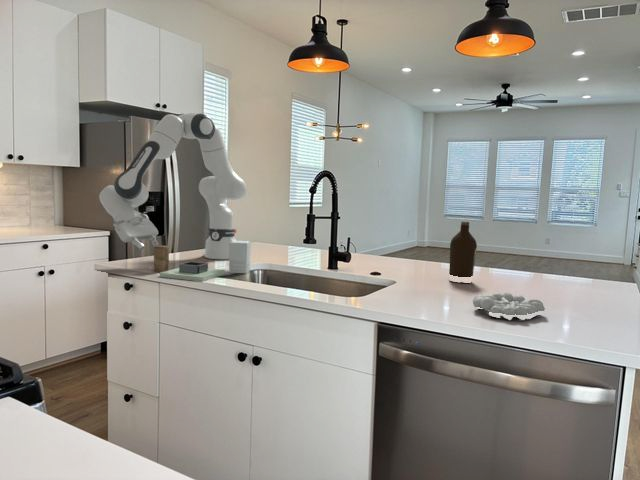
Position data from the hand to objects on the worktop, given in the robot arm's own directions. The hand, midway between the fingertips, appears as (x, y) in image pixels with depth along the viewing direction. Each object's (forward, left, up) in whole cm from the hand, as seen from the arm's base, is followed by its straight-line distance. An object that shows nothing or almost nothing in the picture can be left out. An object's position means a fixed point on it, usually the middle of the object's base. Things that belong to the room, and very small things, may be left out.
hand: (149, 246), depth 197 cm
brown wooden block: (0, +5, -9) cm, 11 cm away
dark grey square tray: (+1, +20, -8) cm, 22 cm away
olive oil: (-42, +120, -10) cm, 128 cm away
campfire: (+8, +134, -10) cm, 135 cm away
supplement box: (-15, +32, -10) cm, 37 cm away
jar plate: (+1, +20, -9) cm, 22 cm away
